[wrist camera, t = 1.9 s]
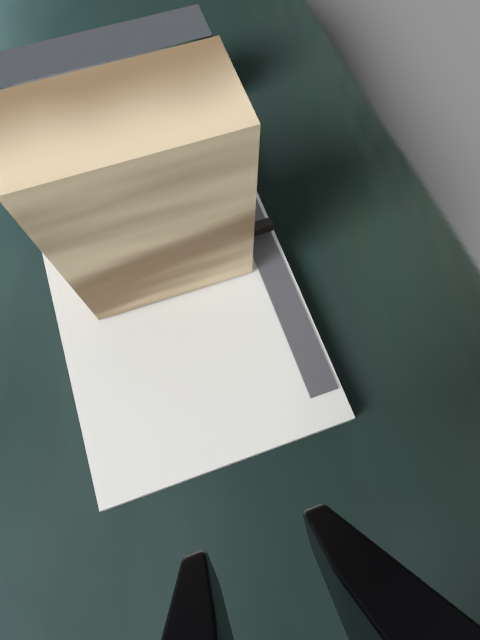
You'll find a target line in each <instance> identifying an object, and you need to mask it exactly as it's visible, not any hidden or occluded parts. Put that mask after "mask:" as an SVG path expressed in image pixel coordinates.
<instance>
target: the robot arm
mask: <svg viewBox="0 0 480 640" xmlns="http://www.w3.org/2000/svg"><path fill="white" fill-rule="evenodd" d="M303 517H304V521H305V525H306V529H307V533H308V537H309V541H310V544H311V547H312V550H313V553H314V555H315V558H316V560H317V563H318V565H319V568H320V570H321V573H322V575H323V577H324V580H325V582H326V585H327V587H328V590H329V592H330V595H331V597H332V600H333V602H334V604H335V607H336V609H337V612H338V614H339V617H340V619H341V622H342V624H343V626H344V629H345V631H346V633H347V636H348V638H349V640H480V625H479V624H477V623H476V622H475V621H473V620H472V619H471V618H470V617H468V616H467V615H466V614H464V613H463V612H462V611H461V610H459V609H458V608H457V607H456V606H454V605H453V604H452V603H450V602H449V601H448V600H447V599H445V598H444V597H443V596H442V595H440V594H439V593H438V592H436V591H435V590H434V589H433V588H431V587H430V586H429V585H427V584H426V583H425V582H424V581H422V580H421V579H420V578H419V577H417V576H416V575H415V574H413V573H412V572H411V571H410V570H408V569H407V568H406V567H405V566H403V565H402V564H401V563H399V562H398V561H397V560H396V559H394V558H393V557H392V556H390V555H389V554H388V553H387V552H385V551H384V550H383V549H382V548H380V547H379V546H378V545H376V544H375V543H374V542H373V541H371V540H370V539H369V538H368V537H366V536H365V535H364V534H362V533H361V532H360V531H359V530H357V529H356V528H355V527H353V526H352V525H351V524H350V523H348V522H347V521H346V520H345V519H343V518H342V517H341V516H339V515H338V514H337V513H336V512H334V511H333V510H332V509H331V508H329V507H328V506H326V505H325V504H319V505H317V506H314V507H312V508H309V509H306V510H305V511H304V512H303ZM161 640H234V639H233V635H232V631H231V627H230V623H229V619H228V615H227V611H226V607H225V603H224V599H223V595H222V591H221V588H220V584H219V581H218V578H217V576H216V573H215V571H214V568H213V566H212V564H211V561H210V559H209V556H208V554H207V552H206V551H205V550H200V551H198V552H195V553H193V554H190V555H187V556H185V557H184V558H183V560H182V562H181V565H180V569H179V573H178V577H177V581H176V585H175V589H174V592H173V596H172V600H171V604H170V608H169V612H168V616H167V619H166V623H165V627H164V631H163V635H162V639H161Z"/></svg>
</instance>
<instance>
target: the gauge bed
mask: <svg viewBox="0 0 480 640" xmlns="http://www.w3.org/2000/svg"><path fill="white" fill-rule="evenodd" d="M265 218H268V216H267V213H266V211H265V209H264V207H263V204H262V202H261V200H260V197H259V195H258V193H257V192H256V209H255V221H258V220H261V219H265ZM42 254H43V253H42ZM43 259H44V263H45V268H46V272H47V277H48V281H49V286H50V290H51V295H52V299H53V304H54V308H55V313H56V317H57V322H58V326H59V331H60V335H61V340H62V344H63V349H64V353H65V358H66V362H67V367H68V371H69V376H70V380H71V385H72V389H73V394H74V398H75V403H76V407H77V412H78V416H79V421H80V426H81V430H82V435H83V439H84V444H85V448H86V453H87V457H88V462H89V466H90V471H91V475H92V480H93V484H94V489H95V493H96V498H97V502H98V507H99V511H106V510H109V509H111V508H114V507H117V506H119V505H122V504H125V503H128V502H130V501H133V500H136V499H139V498H141V497H144V496H147V495H149V494H152V493H155V492H158V491H160V490H163V489H166V488H169V487H171V486H174V485H177V484H180V483H182V482H185V481H188V480H190V479H193V478H196V477H199V476H201V475H204V474H207V473H210V472H212V471H215V470H218V469H220V468H223V467H226V466H229V465H231V464H234V463H237V462H240V461H242V460H245V459H248V458H250V457H253V456H256V455H259V454H261V453H264V452H267V451H270V450H272V449H275V448H278V447H280V446H283V445H286V444H289V443H291V442H294V441H297V440H300V439H302V438H305V437H308V436H310V435H313V434H316V433H319V432H321V431H324V430H327V429H330V428H332V427H335V426H338V425H340V424H343V423H346V422H349V421H351V420H353V419H354V418H355V416H354V414H353V411H352V409H351V407H350V404H349V402H348V400H347V398H346V395H345V393H344V391H343V388H342V386H341V384H340V381H339V379H338V377H337V375H336V372H335V370H334V368H333V365H332V363H331V361H330V358H329V356H328V354H327V352H326V349H325V347H324V345H323V342H322V340H321V338H320V335H319V333H318V331H317V329H316V326H315V324H314V322H313V319H312V317H311V315H310V312H309V310H308V308H307V305H306V303H305V301H304V299H303V296H302V294H301V292H300V289H299V287H298V285H297V282H296V280H295V278H294V276H293V273H292V271H291V269H290V266H289V264H288V262H287V259H286V257H285V255H284V253H283V250H282V248H281V246H280V243H279V241H278V239H277V236H276V234H275V232H274V230H273V231H271V232H268V233H265V234H261V235H258V236H255V237H254V244H253V262H252V272H250V273H247V274H244V275H241V276H238V277H234V278H231V279H228V280H225V281H222V282H219V283H215V284H212V285H209V286H206V287H203V288H200V289H196V290H193V291H190V292H187V293H184V294H181V295H177V296H174V297H171V298H168V299H165V300H162V301H158V302H155V303H152V304H149V305H146V306H143V307H139V308H136V309H133V310H130V311H127V312H124V313H120V314H117V315H114V316H111V317H108V318H104V319H101V320H98V318H97V317H96V316H95V315H94V314H93V312H92V311H91V310H90V309H89V308H88V306H87V305H86V304H85V303H84V302H83V300H82V299H81V298H80V297H79V296H78V294H77V293H76V292H75V291H74V290H73V288H72V287H71V286H70V285H69V284H68V282H67V281H66V280H65V279H64V278H63V277H62V275H61V274H60V273H59V272H58V271H57V269H56V268H55V267H54V266H53V265H52V263H51V262H50V261H49V260H48V259H47V257H46V256H45V255H44V254H43Z"/></svg>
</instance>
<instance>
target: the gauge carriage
mask: <svg viewBox="0 0 480 640" xmlns="http://www.w3.org/2000/svg"><path fill="white" fill-rule="evenodd" d="M259 140H260V122H259V120H258V118H257V116H256V114H255V111H254V109H253V107H252V105H251V103H250V101H249V99H248V96H247V94H246V92H245V90H244V88H243V86H242V84H241V81H240V79H239V77H238V75H237V73H236V71H235V69H234V67H233V64H232V62H231V60H230V58H229V56H228V54H227V52H226V49H225V47H224V45H223V43H222V41H221V39H220V37H219V36H215V37H211V38H207V39H203V40H199V41H195V42H191V43H187V44H183V45H179V46H175V47H171V48H167V49H163V50H159V51H154V52H150V53H146V54H142V55H138V56H134V57H130V58H126V59H122V60H118V61H114V62H110V63H106V64H102V65H98V66H94V67H90V68H86V69H82V70H78V71H74V72H70V73H66V74H62V75H58V76H54V77H50V78H45V79H41V80H37V81H33V82H29V83H25V84H21V85H17V86H13V87H9V88H5V89H1V90H0V202H1V204H2V205H3V206H4V207H5V208H6V210H7V211H8V212H9V213H10V214H11V215H12V217H13V218H14V219H15V220H16V221H17V223H18V224H19V225H20V226H21V227H22V229H23V230H24V231H25V232H26V233H27V235H28V236H29V237H30V238H31V239H32V241H33V242H34V243H35V244H36V245H37V247H38V248H39V249H40V250H41V251H42V253H43V254H44V255H45V256H46V257H47V259H48V260H49V261H50V262H51V263H52V265H53V266H54V267H55V268H56V269H57V271H58V272H59V273H60V274H61V275H62V277H63V278H64V279H65V280H66V281H67V282H68V284H69V285H70V286H71V287H72V288H73V290H74V291H75V292H76V293H77V294H78V296H79V297H80V298H81V299H82V300H83V302H84V303H85V304H86V305H87V306H88V308H89V309H90V310H91V311H92V312H93V314H94V315H95V316H96V317H97V318H98V320H101V319H104V318H108V317H111V316H114V315H117V314H120V313H124V312H127V311H130V310H133V309H136V308H139V307H143V306H146V305H149V304H152V303H155V302H158V301H162V300H165V299H168V298H171V297H174V296H177V295H181V294H184V293H187V292H190V291H193V290H196V289H200V288H203V287H206V286H209V285H212V284H215V283H219V282H222V281H225V280H228V279H231V278H234V277H238V276H241V275H244V274H247V273H250V272H252V262H253V244H254V237H255V236H258V235H261V234H265V233H268V232H271V231H273V227H274V224H273V222H272V219H271V217H268V218H265V219H261V220H258V221H255V209H256V192H257V174H258V157H259Z"/></svg>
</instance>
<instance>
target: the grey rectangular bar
mask: <svg viewBox="0 0 480 640" xmlns="http://www.w3.org/2000/svg"><path fill="white" fill-rule="evenodd" d="M211 37H212V34H211V31H210V29H209V27H208V25H207V23H206V20H205V18H204V16H203V14H202V12H201V10H200V7H199V5H198V4H197V5H193V6H188V7H184V8H180V9H176V10H172V11H167V12H163V13H159V14H155V15H151V16H146V17H142V18H138V19H134V20H130V21H125V22H121V23H117V24H113V25H108V26H104V27H100V28H96V29H92V30H87V31H83V32H79V33H75V34H71V35H66V36H62V37H58V38H54V39H50V40H45V41H41V42H37V43H33V44H29V45H24V46H20V47H16V48H12V49H8V50H3V51H0V90H1V89H5V88H9V87H13V86H17V85H21V84H25V83H29V82H33V81H37V80H41V79H45V78H50V77H54V76H58V75H62V74H66V73H70V72H74V71H78V70H82V69H86V68H90V67H94V66H98V65H102V64H106V63H110V62H114V61H118V60H122V59H126V58H130V57H134V56H138V55H142V54H146V53H150V52H154V51H159V50H163V49H167V48H171V47H175V46H179V45H183V44H187V43H191V42H195V41H199V40H203V39H207V38H211Z"/></svg>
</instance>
